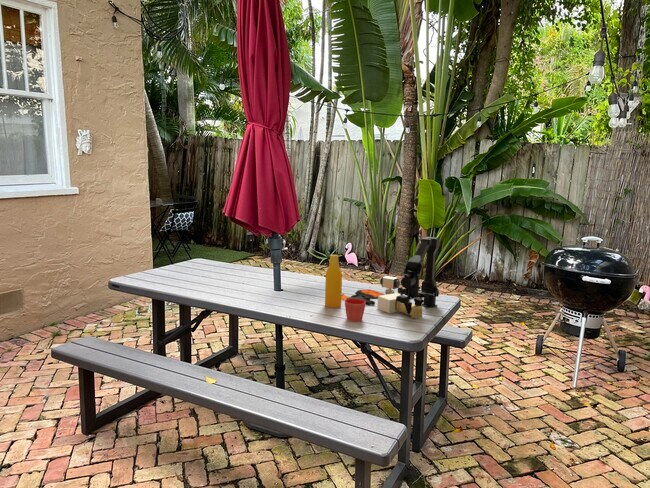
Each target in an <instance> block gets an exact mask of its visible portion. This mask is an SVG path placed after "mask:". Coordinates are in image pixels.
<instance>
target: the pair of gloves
mask: <svg viewBox="0 0 650 488" xmlns="http://www.w3.org/2000/svg"><path fill="white" fill-rule="evenodd" d="M381 295H386V293H382V292H379V291H376V290H373V289H358V290H356V291H355V292H354V294H353V295H351V296H348V295H345V294H344V293H342V294H341V301H342V300H343V301H345V300H347V299H361V300H364V301H365V302H366V304H365V305H367V306H371V305H373V306H374V305H375V304H376V301H374V300H372V299H375V300H378V296H381Z"/></svg>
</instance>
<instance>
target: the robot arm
mask: <svg viewBox="0 0 650 488" xmlns="http://www.w3.org/2000/svg"><path fill="white" fill-rule="evenodd" d="M440 245H441V240H440V239H439V237H432V236H426V237H422V238H421V239H420V244H419V245H418V247H417V249H416V252H415V254H414V255H413V256H411V257H410V258H409V260H408V261H407V262H406V265H405V267H404V271H403V274H404V277H401V279H400V285H401V286H399V287H398V288H397V293H398V294H400V296H397V297H396V301H398V302H400V303H404V305H405V307H406V311H407V314H406V315H408V314H410V310H411V306H412V303H413V302H414V304H415V305H418V306H419V305H422V306H424V307H426V308H433V307H438V304H436V301H437V300H436V299H437V298H438V297H439V295H440V290H439V287H438V284H437V281H436V279H435V266H436V254H437V251H438V250H439V248H440ZM425 256H426V258H425ZM424 258H425V259H426V263H425V278H424V280H422V281H421V286H420V276H421V274H422V272H423V271H422V270H423V268H424V263H423V260H424ZM420 290H421V291H420ZM404 295H405V296H404ZM411 300H413V302H411Z"/></svg>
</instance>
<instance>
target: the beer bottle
mask: <svg viewBox="0 0 650 488" xmlns="http://www.w3.org/2000/svg"><path fill="white" fill-rule="evenodd" d="M342 273H343V272H342V270H341V267H340V263H339V255H338V254H330V258H329V265H328V267H327V269H326V271H325V286H324V287H325V288H324V289H325V290H324V291H325V293H324V295H325V297H324V306H325V307H327V308H330V309H337V308H338V307H339V308H340V307H342V299H341V295H342V294H343V293H342V291H343V288H342V285H343V274H342Z"/></svg>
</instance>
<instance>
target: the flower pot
mask: <svg viewBox="0 0 650 488" xmlns="http://www.w3.org/2000/svg"><path fill="white" fill-rule="evenodd" d="M366 305H367V304H366V302H365V301H364V300H361V299H347V300H344V308H345V315H346V316H345V317H346V320H347V321H348V322H353V323H356V322H358V323H359V322H361V321H363V318H364V312H365V308H366Z"/></svg>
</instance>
